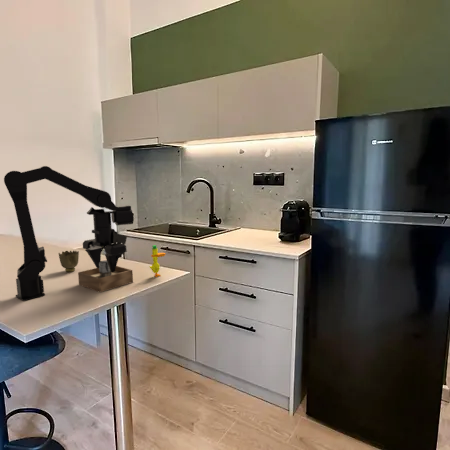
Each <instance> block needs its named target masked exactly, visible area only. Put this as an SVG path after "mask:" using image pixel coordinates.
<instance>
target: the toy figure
mask: <svg viewBox="0 0 450 450" xmlns="http://www.w3.org/2000/svg"><path fill="white" fill-rule="evenodd" d="M151 247H152V248H151V249H152V250H151V252H152V254H151V255H150V257H151V258H152V262H153V263H152V264H151V265H150V266H148V267H149V269H150V270H151V271H152V272H153V273H154V278H158V276H159V277H161V274H160V273H159V272H160V268H161V267H160V263H158V260H159V259H158V258H162V257H165V256H166V255H167V254H166V253H165V252H159V251H158V247H157V245H152V246H151Z"/></svg>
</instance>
